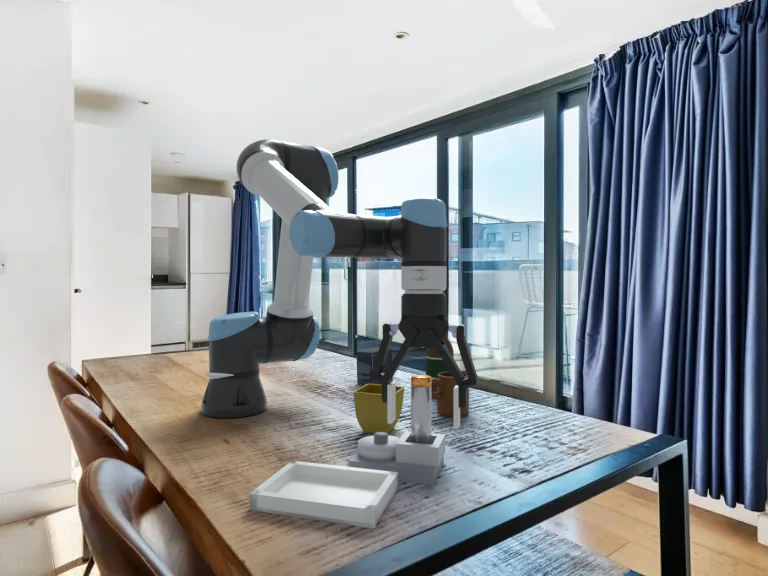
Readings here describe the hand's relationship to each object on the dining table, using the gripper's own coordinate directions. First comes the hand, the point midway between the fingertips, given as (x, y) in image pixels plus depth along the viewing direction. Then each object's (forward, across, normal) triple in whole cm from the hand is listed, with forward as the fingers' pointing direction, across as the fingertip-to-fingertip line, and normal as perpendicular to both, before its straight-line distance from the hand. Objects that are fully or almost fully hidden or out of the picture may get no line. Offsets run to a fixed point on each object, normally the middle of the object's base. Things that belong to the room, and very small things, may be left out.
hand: (423, 423), depth 84 cm
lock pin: (+5, 0, -1) cm, 5 cm away
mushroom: (+8, -52, +23) cm, 57 cm away
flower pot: (+8, -13, +19) cm, 24 cm away
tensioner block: (+8, -4, -1) cm, 9 cm away
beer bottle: (+8, -6, +54) cm, 55 cm away
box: (+8, -28, +65) cm, 71 cm away
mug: (+8, -1, +35) cm, 36 cm away
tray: (+8, -12, -14) cm, 20 cm away
